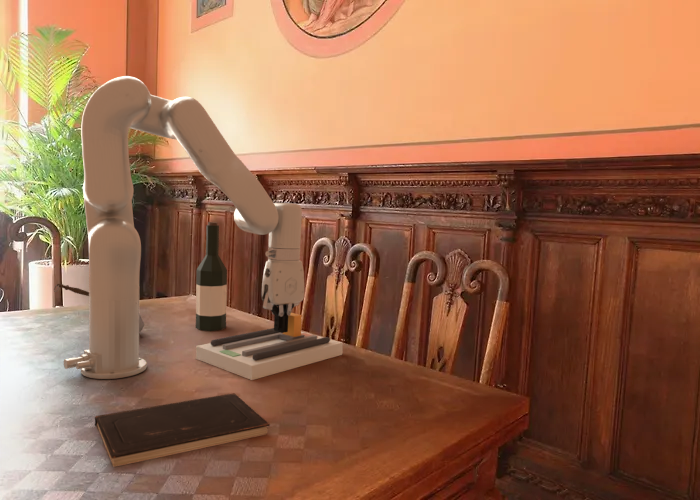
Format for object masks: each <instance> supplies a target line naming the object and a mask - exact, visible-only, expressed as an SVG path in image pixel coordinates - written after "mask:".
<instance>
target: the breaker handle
mask: <svg viewBox="0 0 700 500" xmlns="http://www.w3.org/2000/svg"><path fill="white" fill-rule="evenodd" d="M302 318H303V315H302V314H298V313H294V312H291V314H290V315H288V332H284V333H281V334H279V338H281V339H284V340H288V341H289V340H294V339H298V338H302V337H305V335H302V334H301V332H302V321H303V320H302Z"/></svg>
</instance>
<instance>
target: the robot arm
mask: <svg viewBox="0 0 700 500" xmlns="http://www.w3.org/2000/svg"><path fill="white" fill-rule="evenodd" d="M82 113H83V114H82V117H81V123H80V124H81V127H80V129H81V131H80V134H81V149H82V150H81V151H82V152H81V153H82V161H83V163H82V165H83V176H84V179H83V184H82V192H83V203H84V211H85V221H86V230H87V235H88V236H87V238H88V292H89V296H88V299H89V300H88V301H89V303H88V304H89V305H88V307H89V308H88V309H89V311H88V315H89V316H88V317H89V319H88V322H89V323H88V336H89V337H88V338H89V340H88V343H89V346H88V349H84V350H83V351H84V352H83V354H81V355H80V356H77V357H70V358H65V359H63V367H64V369H66V370H68V369H72V368H76V369H77V370H80V373H81V375H83V376H84V377H86V378H91V379H98V380H111V379H112V380H114V379H123V378H128V377H132V376H136V375H138V374H141V373H142V372H144V371H145V370H146V369H147V367H148V366H147V365H148V364H147V361H146V360H145V359H144V358H141V357H140V332H139V313H140V270H141V258H142V244H141V238H140V235H139V232H138V231H137V229H136V228H135V224H134V214H133V213H134V212H133V203H132V202H133V201H132V200H133V197H134V191H135V190H134V183H133V181H132V174H131V165H130V157H129V150H130V149H129V131H130V129H133V130H137V131H139V132H143V133H147V134H151V135H155V136H158V137H163V138H167V139H171V140H176V141H178V143H179V144H180V145H181V147H182V148H183V150H184V151H185V152H186V154H187V155H188V157H189V158H190V160H191V161H192V162H193V165H194V166H195V167H196V168H197V171H199V173H200V174H201V175H202V177H204V178H205V179H206V180H207V181H208V182H210V183H211V184H213V185H214V186H216V187H217V188H218V189H219V190H220V191H221V192H222V193H223V194H224V195H225V196H226V197H227V198H228V199H229V201H230V202H231V203H232V204H233V206H234V207H235V210H234V213H233V221H234V223H235V224H236V226H237V227H238V228H239V230H242V231H243V232H246V233H250V234H255V235H259V236H260V235H263V236H264V235H268V245H267V246H268V249H267V250H266V251H265V257H267V260H266V261H265V266H264V269H263V275H262V280H261V281H262V283H261V300H262V301H263V305H262V308H263V309H264V310H268V311H270V312H271V314H272V315H274V317H273V318H274V319H273V328H274V331H276V332H280V333H284V332H288V315H290V314H291V313H292V310H293V308H295V307H298V306H299V305H300V303H301V302H303V300H304V299H305V273H304V272H305V271H304V266H303V261H302V260H300V259H301V242H302V240H301V239H302V237H301V236H302V220H303V219H302V218H303V209H302V206H301V205H299V204H297V203H291V202H273V200H272V198H271V197H270V196H269V194H268V192H267V191H266V190H265V188H264V186H263V185H262V184H261V182H260V181H259V179H258V178H257V177H256V176H255V175H254V174H253V172H251V171H250V169H249V168H248V167H247V166H246V165H245V164H244V162H243V161H242V160H241V158H239V157H238V156H237V155H236V153H235V152H234V151H233V149H232V148H231V146H230V145H229V142H227V140H226V139H225V137H224V135H223V134H222V133H221V132H220V130H219V128H218V127H217V126H216V124H215V123H214V120H213V119H212V118H211V117H210V115H209V114H208V112H207V111H206V109H205V107H204V106H203V105H202V104H201V103H200V102H199V101H198V100H197V99H195V98H194V97H190V96H181V97H177V98H175V99H173V100H171V99H167V98H164V97H161V96H157V95H153V94H151V93H150V90H149V88H148V86H147V85H146V84H145V83H144V82H143V81H142V80H140V79H138V78H137V77H134V76H129V75H123V76H118V77H115V78H112V79H110V80H108V81H107V82H105V83H103V84H102V85H100V86H99V87H98V88H97V89H95V91H94V92H93V93H92V95H91V96H90V97H89V99H88V100H87V102H86V105H85V107H84V109H83V112H82Z"/></svg>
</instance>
